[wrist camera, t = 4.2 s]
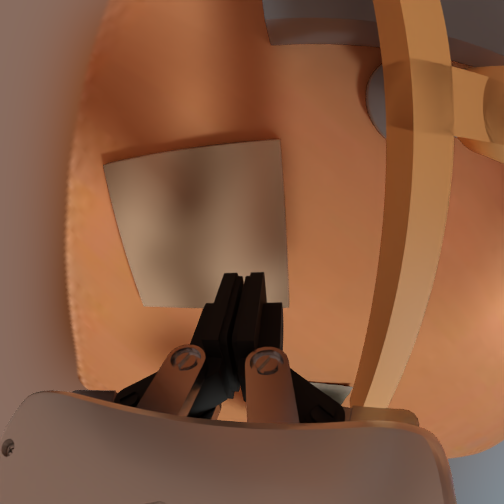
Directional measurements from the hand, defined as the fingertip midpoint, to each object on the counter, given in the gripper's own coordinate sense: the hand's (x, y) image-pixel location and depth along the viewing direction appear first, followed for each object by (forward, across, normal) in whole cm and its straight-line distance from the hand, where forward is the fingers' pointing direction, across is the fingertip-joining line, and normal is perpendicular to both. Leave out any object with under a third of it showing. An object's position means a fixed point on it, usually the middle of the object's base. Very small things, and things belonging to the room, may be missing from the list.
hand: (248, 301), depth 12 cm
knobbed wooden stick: (-1, -7, -7) cm, 10 cm away
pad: (+5, +3, -1) cm, 6 cm away
